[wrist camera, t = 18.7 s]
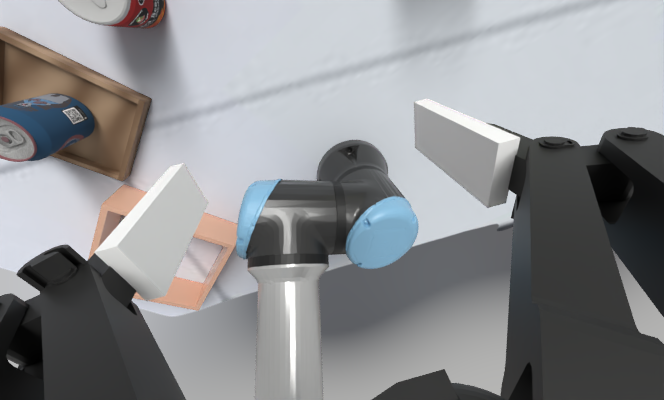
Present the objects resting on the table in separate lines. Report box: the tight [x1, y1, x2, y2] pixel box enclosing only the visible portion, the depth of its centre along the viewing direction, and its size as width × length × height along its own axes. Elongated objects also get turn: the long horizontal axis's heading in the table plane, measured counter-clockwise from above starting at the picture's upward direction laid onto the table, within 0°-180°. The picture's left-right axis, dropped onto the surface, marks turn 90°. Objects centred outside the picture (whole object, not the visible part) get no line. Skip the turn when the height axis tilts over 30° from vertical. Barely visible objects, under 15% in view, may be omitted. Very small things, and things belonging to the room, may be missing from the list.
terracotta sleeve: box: [88, 185, 238, 311], centre depth 55 cm, size 23×23×7 cm
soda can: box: [0, 93, 95, 162], centre depth 35 cm, size 7×7×12 cm
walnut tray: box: [0, 27, 152, 181], centre depth 40 cm, size 18×16×2 cm
